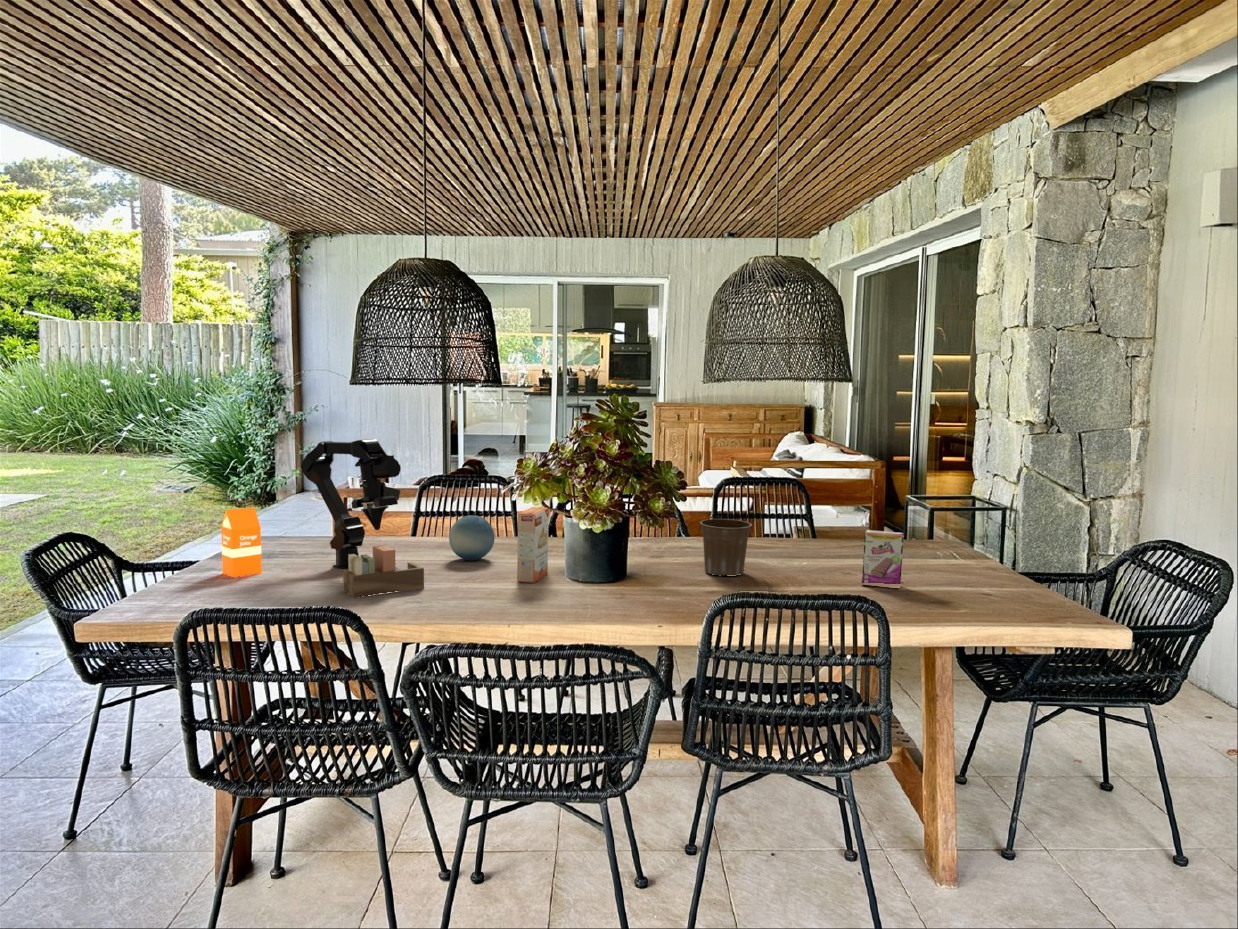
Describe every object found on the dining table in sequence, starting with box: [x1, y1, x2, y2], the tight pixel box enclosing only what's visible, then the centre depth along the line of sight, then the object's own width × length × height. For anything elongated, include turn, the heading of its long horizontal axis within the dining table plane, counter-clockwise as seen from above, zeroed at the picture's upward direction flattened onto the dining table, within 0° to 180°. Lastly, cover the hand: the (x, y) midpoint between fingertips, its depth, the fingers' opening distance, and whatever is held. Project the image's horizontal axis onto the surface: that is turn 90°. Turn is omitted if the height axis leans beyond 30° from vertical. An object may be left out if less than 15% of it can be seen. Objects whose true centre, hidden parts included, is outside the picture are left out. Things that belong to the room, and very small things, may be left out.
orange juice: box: [220, 506, 263, 578], centre depth 249 cm, size 8×9×20 cm
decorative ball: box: [448, 514, 496, 561], centre depth 272 cm, size 15×15×15 cm
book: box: [372, 544, 396, 573], centre depth 232 cm, size 8×4×12 cm, turn 37°
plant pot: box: [699, 518, 753, 576], centre depth 258 cm, size 16×16×16 cm
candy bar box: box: [861, 529, 905, 584], centre depth 244 cm, size 11×5×16 cm, turn 71°
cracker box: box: [516, 506, 550, 584], centre depth 248 cm, size 14×6×21 cm, turn 168°
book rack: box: [342, 553, 425, 599], centre depth 232 cm, size 10×20×10 cm, turn 125°
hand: (377, 529), depth 253 cm, fingers closed
